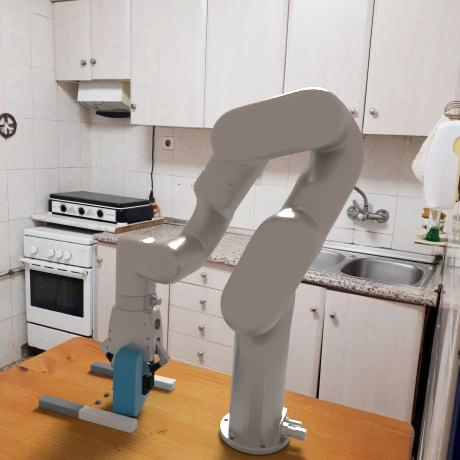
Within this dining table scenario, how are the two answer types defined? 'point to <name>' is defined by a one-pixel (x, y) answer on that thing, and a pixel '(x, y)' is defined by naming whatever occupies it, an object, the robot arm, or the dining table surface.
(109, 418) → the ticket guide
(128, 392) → the blue rounded box
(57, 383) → the dining table surface
